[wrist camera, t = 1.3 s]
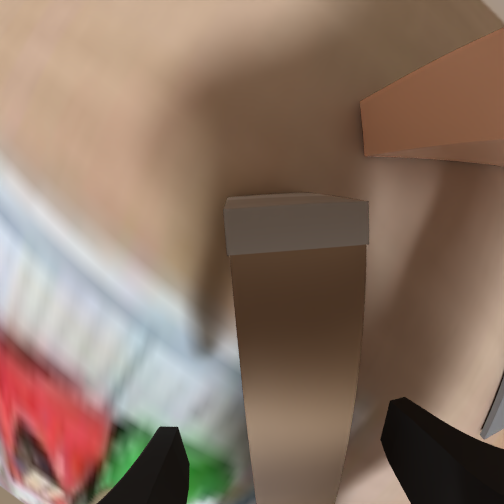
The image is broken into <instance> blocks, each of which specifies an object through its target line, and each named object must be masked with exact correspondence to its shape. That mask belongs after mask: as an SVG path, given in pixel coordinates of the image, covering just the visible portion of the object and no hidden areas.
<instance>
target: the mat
mask: <svg viewBox="0 0 504 504" xmlns="http://www.w3.org/2000/svg"><path fill="white" fill-rule="evenodd" d="M502 429H504V377H503V380H502V383H501V386H500V389H499V391H498V394H497V396H496V399H495V401H494V404H493V406H492V409H491V411H490V413H489V416H488V418H487V420H486V423H485V425H484V427H483V429H482V431H481V433H480V435H481V437H482V438H483V439H486V438H488V437H490V436H491V435H493V434H495V433H497V432H499V431H500V430H502Z"/></svg>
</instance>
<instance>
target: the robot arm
mask: <svg viewBox="0 0 504 504" xmlns="http://www.w3.org/2000/svg"><path fill="white" fill-rule="evenodd" d="M380 440H381V442H382V445H383V448H384V451H385V454H386V456H387V459H388V462H389V464H390V465H391V467H392V469H393V471H394V473H395V475H396V477H397V479H398V480H399V482H400V484H401V486H402V488H403V490H404V492H405V493H406V495H407V497H408V499H409V501H410V503H411V504H504V449H501V448H498V447H495V446H492V445H490V444H487V443H485V442H482V441H480V440H477V439H475V438H473V437H471V436H469V435H467V434H465V433H463V432H461V431H459V430H457V429H456V428H454V427H452V426H450V425H449V424H447V423H445V422H444V421H442V420H440V419H439V418H437V417H435V416H434V415H432V414H431V413H429V412H428V411H426V410H425V409H423V408H421V407H420V406H418V405H417V404H415V403H414V402H412V401H411V400H409V399H407V398H406V397H403V398H399V399H395V400H392V401H390V403H389V407H388V411H387V416H386V420H385V424H384V428H383V432H382V435H381V439H380ZM188 490H189V461H188V458H187V455H186V451H185V448H184V445H183V442H182V439H181V435H180V432H179V429H178V427H159V428H158V430H157V431H156V433H155V434H154V436H153V437H152V439H151V440H150V442H149V443H148V445H147V446H146V447H145V449H144V450H143V452H142V453H141V455H140V456H139V457H138V459H137V460H136V461H135V462H134V464H133V465H132V466H131V468H130V469H129V470H128V471H127V473H126V474H125V475H124V476H123V477H122V478H121V480H120V481H119V482H118V483H117V484H116V485H115V486H114V487H113V489H112V490H111V491H110V492H109V493H108V494H107V495H106V496H105V497H104V498H103V499H101V500H100V501H99V502H98V503H97V504H186V503H187V496H188Z"/></svg>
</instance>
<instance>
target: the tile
mask: <svg viewBox="0 0 504 504" xmlns="http://www.w3.org/2000/svg"><path fill="white" fill-rule="evenodd" d="M360 109H361V118H362V129H363V140H364V154H365V156H375V157H403V158H422V159H437V160H449V161H461V162H471V163H480V164H489V165H497V166H504V28H502V29H499V30H497V31H495V32H493V33H490V34H488V35H486V36H484V37H482V38H480V39H477V40H475V41H473V42H471V43H469V44H467V45H465V46H463V47H461V48H458V49H456V50H454V51H452V52H450V53H448V54H446V55H444V56H442V57H440V58H438V59H436V60H435V61H433V62H431V63H429V64H427V65H425V66H423V67H421V68H419V69H417V70H415V71H414V72H412V73H410V74H408V75H406V76H404V77H403V78H401V79H399V80H397V81H395V82H393V83H392V84H390V85H388V86H386V87H385V88H383V89H381V90H379V91H377V92H376V93H374V94H372V95H370V96H369V97H367V98H365V99H364V100H362V101H360Z"/></svg>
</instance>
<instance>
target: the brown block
mask: <svg viewBox="0 0 504 504" xmlns="http://www.w3.org/2000/svg"><path fill="white" fill-rule="evenodd" d="M223 212H224V225H225V237H226V249H227V256H229V255H230V262H231V273H232V285H233V296H234V307H235V317H236V328H237V338H238V348H239V358H240V368H241V378H242V387H243V396H244V406H245V415H246V423H247V432H248V441H249V449H250V458H251V466H252V474H253V482H254V490H255V497H256V504H335V501H336V497H337V493H338V489H339V485H340V480H341V476H342V471H343V467H344V462H345V457H346V452H347V446H348V441H349V435H350V430H351V424H352V417H353V411H354V404H355V397H356V390H357V382H358V374H359V365H360V355H361V345H362V333H363V320H364V304H365V283H366V245H368V244H369V205H368V201H364V200H358V199H351V198H345V197H338V196H331V195H324V194H317V193H309V192H300V193H281V194H264V195H249V196H235V197H228V198H227V201H226V203H225V206H224V209H223Z"/></svg>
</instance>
